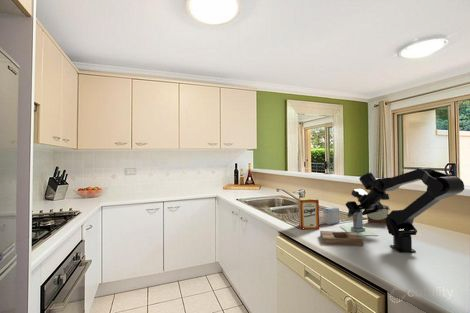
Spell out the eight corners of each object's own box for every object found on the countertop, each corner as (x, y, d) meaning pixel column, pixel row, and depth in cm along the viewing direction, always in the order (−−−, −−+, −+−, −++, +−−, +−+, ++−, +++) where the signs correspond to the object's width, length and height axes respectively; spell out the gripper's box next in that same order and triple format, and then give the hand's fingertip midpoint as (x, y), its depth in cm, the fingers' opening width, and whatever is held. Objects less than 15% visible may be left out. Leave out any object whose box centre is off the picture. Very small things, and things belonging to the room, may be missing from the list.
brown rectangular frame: (362, 246, 99) (362, 240, 99) (323, 243, 102) (323, 238, 102) (356, 237, 109) (356, 232, 109) (320, 236, 112) (320, 230, 112)
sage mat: (377, 235, 110) (377, 235, 110) (352, 236, 111) (352, 235, 111) (363, 226, 124) (363, 226, 124) (340, 227, 125) (340, 226, 125)
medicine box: (333, 221, 137) (333, 206, 137) (339, 223, 132) (339, 208, 132) (323, 222, 134) (322, 207, 134) (328, 224, 130) (328, 209, 130)
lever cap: (357, 232, 115) (356, 209, 115) (351, 230, 119) (350, 207, 119) (365, 231, 116) (364, 208, 116) (358, 228, 120) (358, 206, 120)
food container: (386, 221, 133) (385, 204, 133) (390, 224, 127) (389, 206, 127) (362, 220, 136) (362, 203, 136) (365, 223, 130) (364, 205, 130)
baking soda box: (301, 229, 123) (300, 199, 123) (298, 225, 130) (298, 197, 130) (319, 229, 122) (318, 199, 122) (316, 225, 129) (315, 197, 129)
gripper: (377, 183, 117) (360, 200, 127) (347, 185, 111) (332, 203, 122) (392, 201, 109) (373, 218, 120) (361, 204, 104) (344, 222, 114)
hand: (355, 215), depth 119 cm, fingers open, 9 cm apart
